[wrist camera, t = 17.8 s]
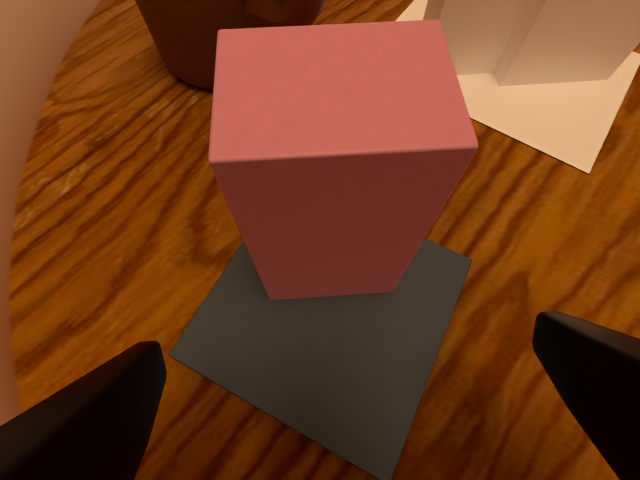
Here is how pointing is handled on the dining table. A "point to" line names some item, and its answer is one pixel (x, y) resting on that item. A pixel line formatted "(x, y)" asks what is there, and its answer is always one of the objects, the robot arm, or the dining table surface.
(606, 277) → the dining table surface
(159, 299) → the dining table surface
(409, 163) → the block
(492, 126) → the napkin holder
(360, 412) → the mat
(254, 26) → the mug
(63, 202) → the dining table surface
